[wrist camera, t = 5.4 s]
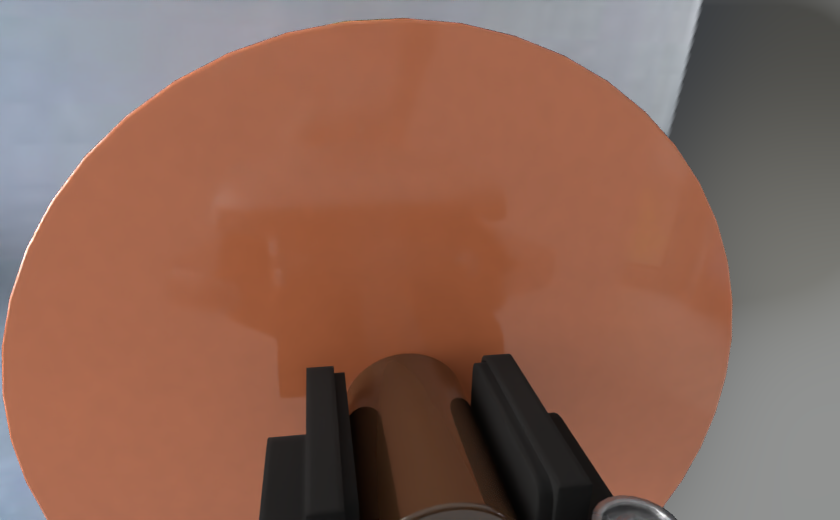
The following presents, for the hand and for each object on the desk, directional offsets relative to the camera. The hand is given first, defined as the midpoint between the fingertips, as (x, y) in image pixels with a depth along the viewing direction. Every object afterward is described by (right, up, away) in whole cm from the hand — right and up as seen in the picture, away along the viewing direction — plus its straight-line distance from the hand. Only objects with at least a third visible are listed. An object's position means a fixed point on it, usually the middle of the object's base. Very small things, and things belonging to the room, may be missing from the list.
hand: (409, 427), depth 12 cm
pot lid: (0, 0, +1) cm, 1 cm away
